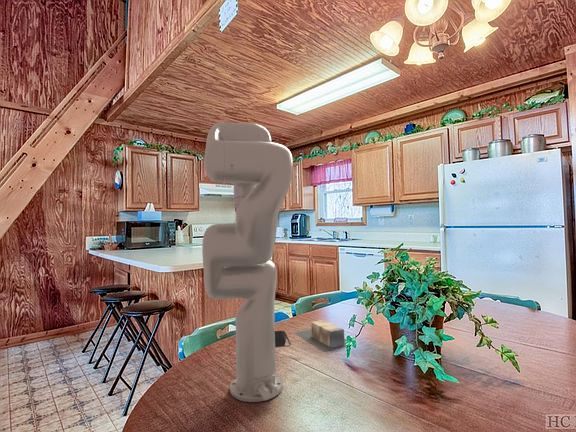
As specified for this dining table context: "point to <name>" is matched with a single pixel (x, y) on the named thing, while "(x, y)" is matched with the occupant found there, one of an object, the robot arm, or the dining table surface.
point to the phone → (280, 339)
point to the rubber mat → (316, 341)
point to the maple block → (327, 333)
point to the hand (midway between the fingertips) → (246, 257)
